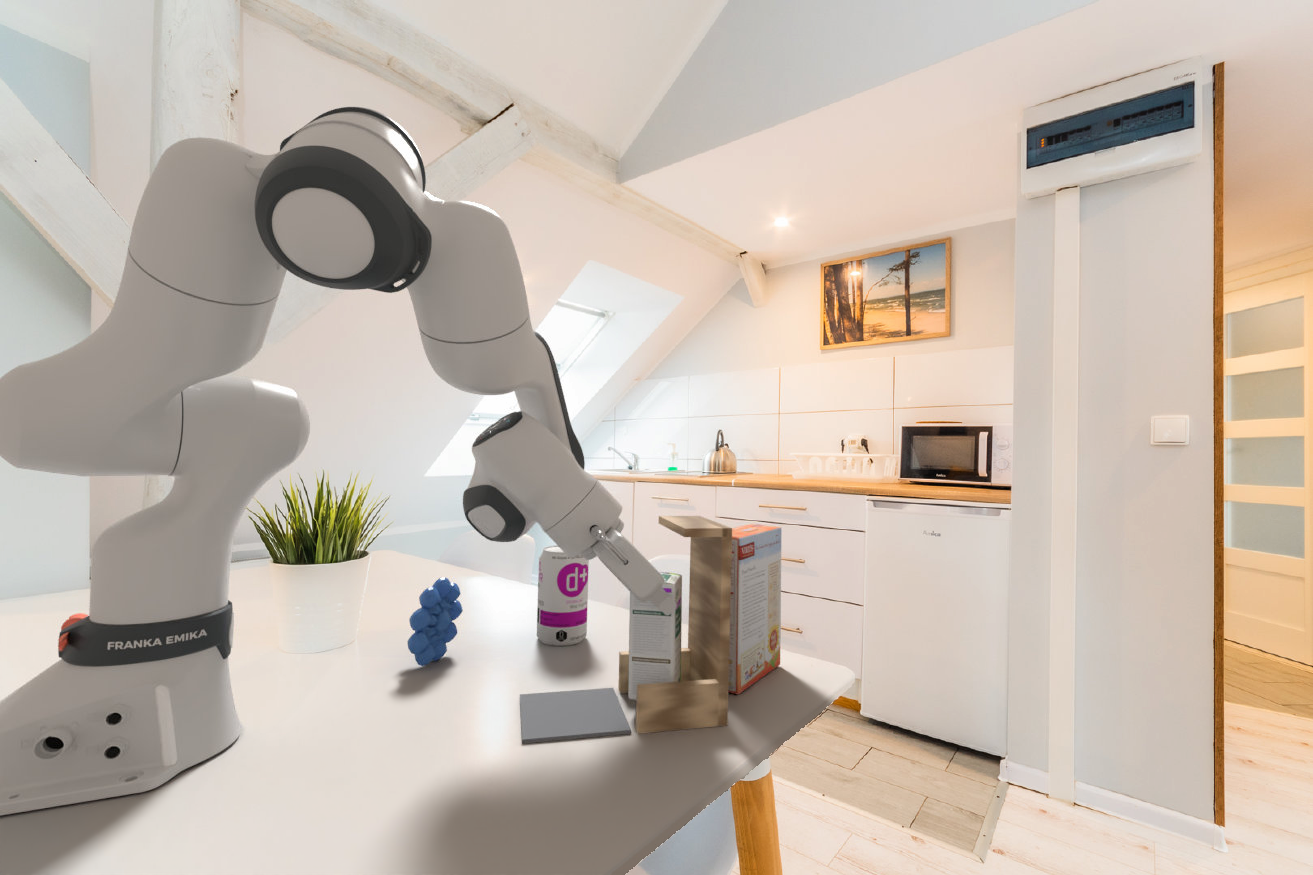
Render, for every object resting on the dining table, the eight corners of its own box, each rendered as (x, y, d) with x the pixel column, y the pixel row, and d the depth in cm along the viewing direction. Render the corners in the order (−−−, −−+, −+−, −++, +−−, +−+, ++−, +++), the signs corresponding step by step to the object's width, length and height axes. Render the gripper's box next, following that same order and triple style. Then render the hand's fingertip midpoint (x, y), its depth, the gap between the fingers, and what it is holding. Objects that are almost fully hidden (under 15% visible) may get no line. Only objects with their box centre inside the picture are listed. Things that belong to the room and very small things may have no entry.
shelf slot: (637, 733, 67) (643, 528, 68) (618, 689, 79) (623, 516, 80) (727, 725, 70) (732, 528, 70) (695, 683, 82) (699, 515, 82)
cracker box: (745, 657, 93) (748, 522, 93) (781, 666, 90) (784, 526, 90) (698, 685, 82) (702, 531, 82) (738, 696, 78) (741, 536, 78)
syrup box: (674, 705, 71) (678, 582, 71) (625, 699, 72) (629, 579, 72) (680, 686, 77) (684, 572, 77) (635, 681, 78) (639, 569, 78)
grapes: (432, 645, 95) (434, 569, 95) (470, 649, 93) (473, 572, 94) (383, 671, 83) (386, 585, 84) (426, 676, 82) (429, 589, 82)
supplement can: (595, 641, 99) (597, 550, 99) (548, 650, 94) (551, 554, 94) (573, 628, 105) (575, 543, 105) (528, 636, 101) (531, 546, 101)
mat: (521, 743, 64) (521, 739, 64) (519, 697, 76) (520, 694, 76) (631, 733, 67) (631, 729, 67) (613, 690, 79) (613, 687, 79)
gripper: (621, 513, 63) (706, 603, 65) (594, 496, 83) (660, 566, 85) (577, 556, 62) (665, 646, 64) (560, 528, 82) (628, 598, 84)
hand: (662, 600), depth 75 cm, fingers closed on syrup box, 7 cm apart
